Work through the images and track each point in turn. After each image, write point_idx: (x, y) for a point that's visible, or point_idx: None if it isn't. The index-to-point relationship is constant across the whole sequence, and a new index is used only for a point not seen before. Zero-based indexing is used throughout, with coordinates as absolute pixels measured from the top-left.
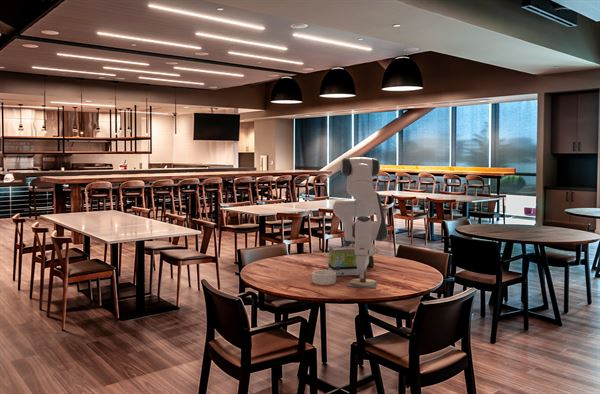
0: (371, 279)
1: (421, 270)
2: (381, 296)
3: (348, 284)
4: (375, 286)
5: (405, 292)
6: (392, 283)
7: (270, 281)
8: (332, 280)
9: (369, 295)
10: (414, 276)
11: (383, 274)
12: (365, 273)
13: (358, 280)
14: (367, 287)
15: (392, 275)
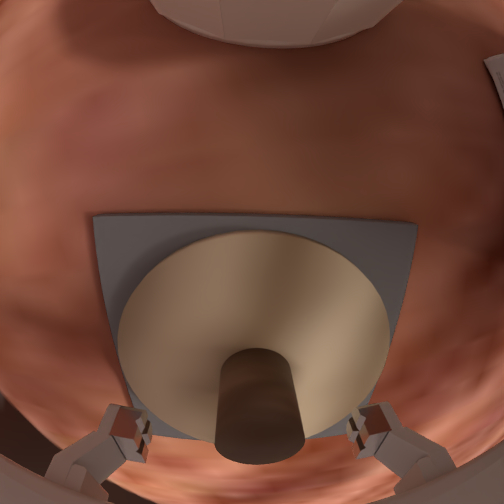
0: (345, 416)
1: None
2: (29, 418)
3: (138, 225)
4: (167, 436)
5: (147, 493)
6: (311, 474)
7: None
8: (177, 10)
9: (6, 375)
10: None
11: (496, 388)
12: (280, 459)
13: (293, 332)
14: (131, 392)
15: (468, 424)
